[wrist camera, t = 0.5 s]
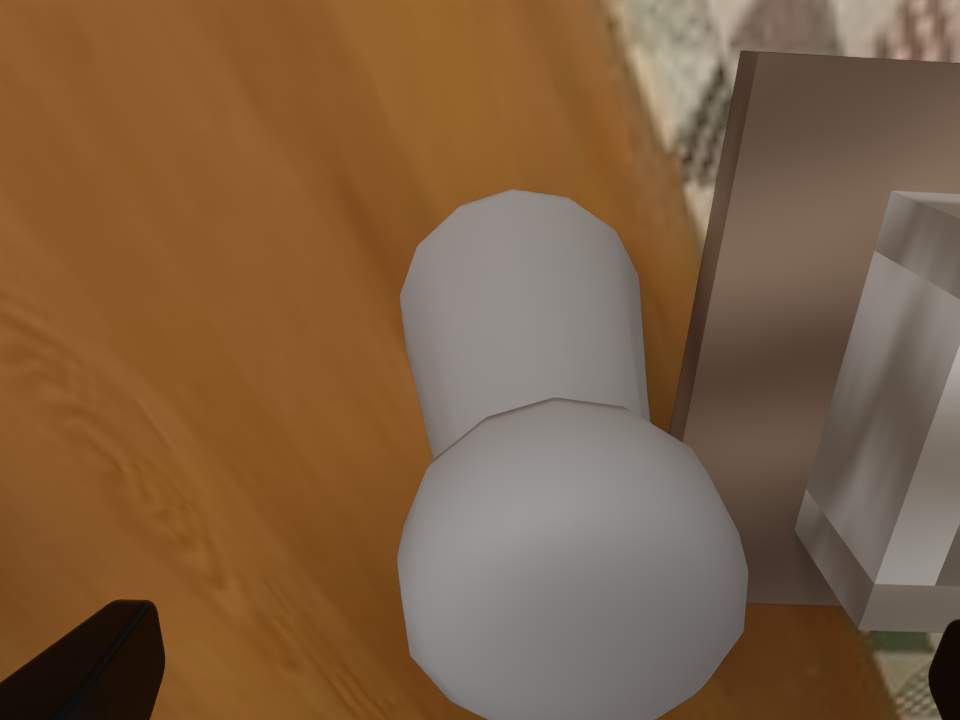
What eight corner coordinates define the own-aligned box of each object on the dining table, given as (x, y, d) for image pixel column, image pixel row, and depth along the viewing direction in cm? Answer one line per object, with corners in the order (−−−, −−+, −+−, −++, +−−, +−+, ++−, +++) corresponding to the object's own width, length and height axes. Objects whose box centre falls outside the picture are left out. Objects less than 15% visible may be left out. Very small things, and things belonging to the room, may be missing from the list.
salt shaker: (620, 368, 21) (811, 807, 9) (421, 383, 21) (364, 836, 9) (620, 161, 19) (880, 403, 7) (395, 179, 19) (274, 449, 7)
